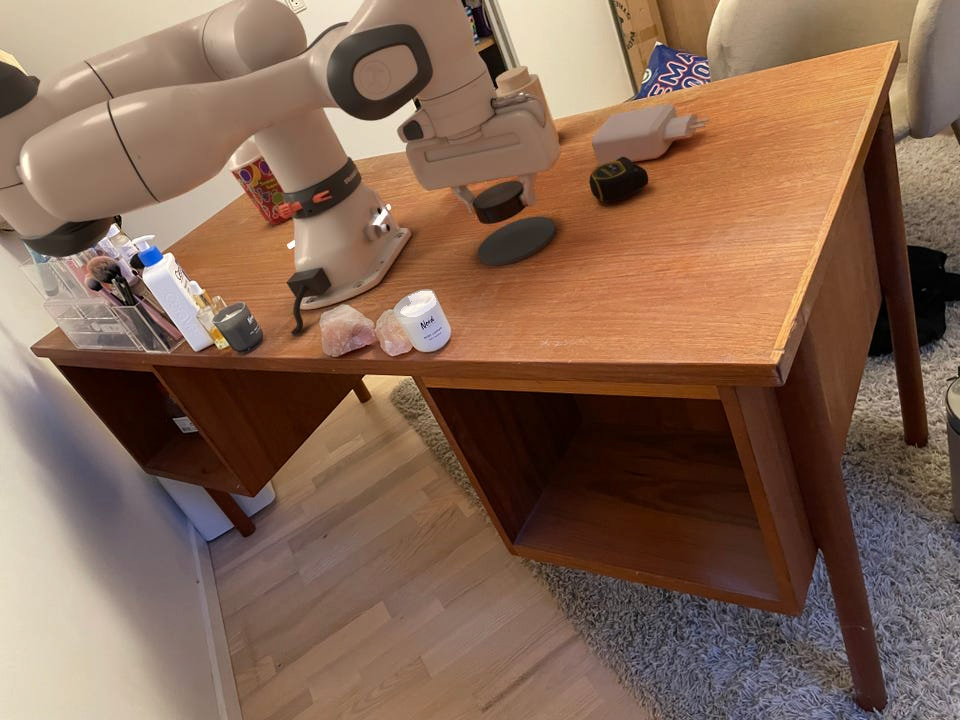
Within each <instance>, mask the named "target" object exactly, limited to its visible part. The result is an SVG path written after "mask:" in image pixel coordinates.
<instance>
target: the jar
mask: <svg viewBox="0 0 960 720" xmlns="http://www.w3.org/2000/svg"><path fill="white" fill-rule="evenodd" d="M495 82H496V85H497V87H498V88H496V89H495V91H496V93H497V96H498V97H502V96H508V95H514V94H515V93H518V92H523V91H524V92H527V93H528V94H532V95H534V96H536V97H537V98H539V99H540V100H541V102H542V104H543V107H544V110H545V113H546V117H547V119H548V121H549V123H550V125H551V127H552V129H553V131H554V133H555V135H556V137H557V140H558V142H559V141H560V136H559V134H558V133H559V132H558V130H557V128H556V124H555V122H554V118H553V116H552V113H551V110H550V106H549V103H548V100H547V98H546V94H545V92H544V89H543V86H542V82H541V79H540V77H539V75H538V74H536V73H531V74H530V72H529V68H528V66H527V65H520V66H516V67H513V68H511V69H508V70H506V71H504V72H502V73H501V74H499V75H498V76H497V77H496V78H495ZM529 99H531V98H528V100H529Z"/></svg>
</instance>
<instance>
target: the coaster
mask: <svg viewBox="0 0 960 720" xmlns="http://www.w3.org/2000/svg"><path fill="white" fill-rule="evenodd" d="M556 232H557V226H556V224H555V222H554V220H553V219H551V218H549V217H547V216H529V217H524V218H520V219H518V220H515V221H512V222H509V223H508V224H505V225H503V226H501V227H499V228H498V229H496V230H495V231H493V232H492V233H490V234H489V235H488V236H487V237H486V238H485V239H484V240H483V241H482V242H481V243H480V245H479V247H478V250H477V255H478V258H479V261H480V262H482V263H483V264H485V265H488V266H504V265H509V264H515V263H516V262H520V261H522V260H525V259H527V258H529V257H531V256H533V255H534V254H536V253H538V252H539V251H541V250H543V249H544V248H545V247H546V246H548V244H549V243H550V242H551V241H552V240H553V238H554V237H555V235H556Z"/></svg>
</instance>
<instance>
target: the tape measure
mask: <svg viewBox="0 0 960 720" xmlns="http://www.w3.org/2000/svg"><path fill="white" fill-rule="evenodd" d="M588 182H589V183H588V184H589V187H590V190H591V193H592V195H593V197H594V198H595V199H596V200H598V201H601V202H606V203H608V202H609V203H610V202H617V201H620V200H624V199H626V198H628V197H630V196H632V195H633V194H635V193H636V192H638V191H640V190H641V189H643V188H644V187H646V186H647V185H648V183H649V175H648V172H647V170H645V168H644V167H642V166H640V165H638V164H637V163H634V162H632V161H631V160H629V159H628V158H626V157H621V158H619V159H617V160H616V161H613V162H609V163H606V164H603V165H601V166H598V167H596V168H595V169H594V170H593V171H592V172H591V173H590V175H589V181H588Z"/></svg>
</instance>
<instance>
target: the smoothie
mask: <svg viewBox="0 0 960 720" xmlns="http://www.w3.org/2000/svg"><path fill="white" fill-rule="evenodd" d="M227 164H228V171H230V172H231V174H232V175H233V177H234V178H235V179H236V181H237V183H239V185H240V187H241V188H242V189H243V190H244V192H245V193H246V195H247V196H248V198H249V199H250V200H251V202H252V203H253V205H254V206H255V208H256V209H257V210H258V212H259V213H260V214H261V216H262V217H263V219H264V220H265V221H266V222H268V223H270V224H271V225H272V226H275V225H280V224H282V223H284V222H286V221H288V220H289V219H291V218H292V217H291V216H290V217H288V218H286V219H285V218H284V217H282V215H280V214H281V213H279V211H280V210H279V206H280V205H283V204H285V200H284V197H283V194H282V191H283V190H282V188H281V186H280V184H279V183H278V181H277V179H276V178H275V176H274V174H273V173H272V171H271V169H270V168H269V166H268V164H267V163H266V161H265V159H264V158H263V156H262V154H261V153H260V151H259V149H258V147H257V146H256V143H255V141H252V140H249V139H247V140H246V141H245V142H244V143H243V144H242V145H241V146H240V147H239V148H238V149H237V150H236V151H235V152H234V154H233V155H232V156H231V158H230V159H229V160H228V162H227Z"/></svg>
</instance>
